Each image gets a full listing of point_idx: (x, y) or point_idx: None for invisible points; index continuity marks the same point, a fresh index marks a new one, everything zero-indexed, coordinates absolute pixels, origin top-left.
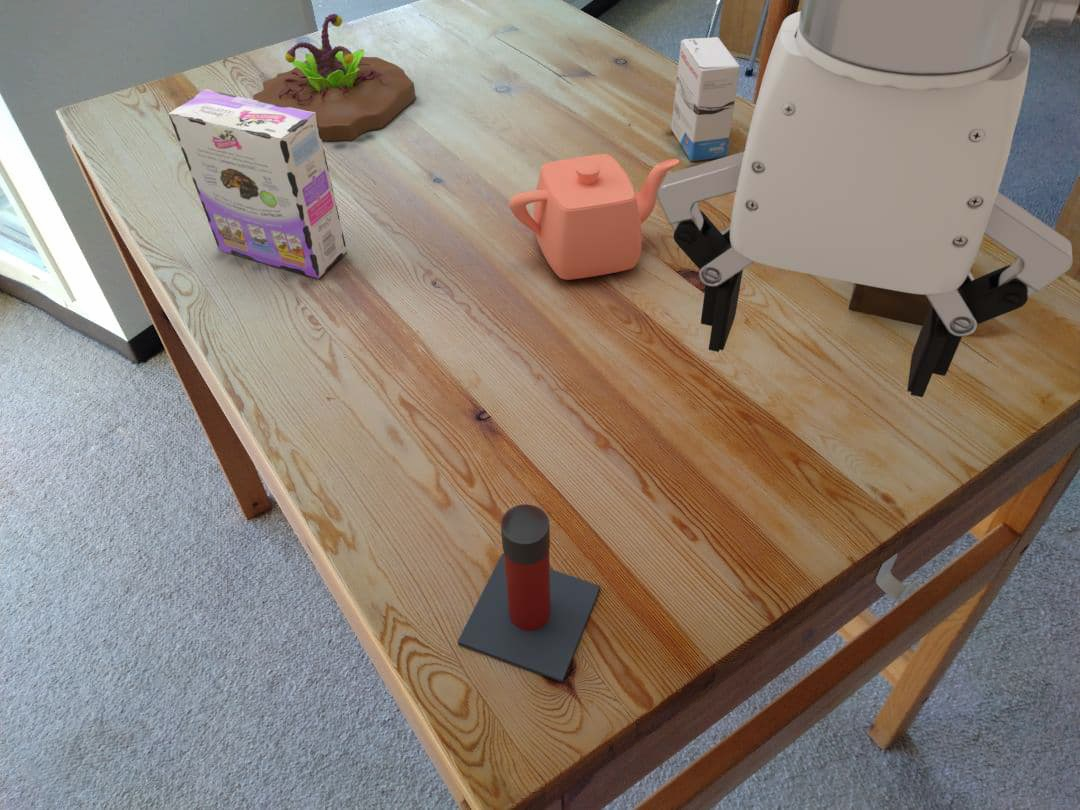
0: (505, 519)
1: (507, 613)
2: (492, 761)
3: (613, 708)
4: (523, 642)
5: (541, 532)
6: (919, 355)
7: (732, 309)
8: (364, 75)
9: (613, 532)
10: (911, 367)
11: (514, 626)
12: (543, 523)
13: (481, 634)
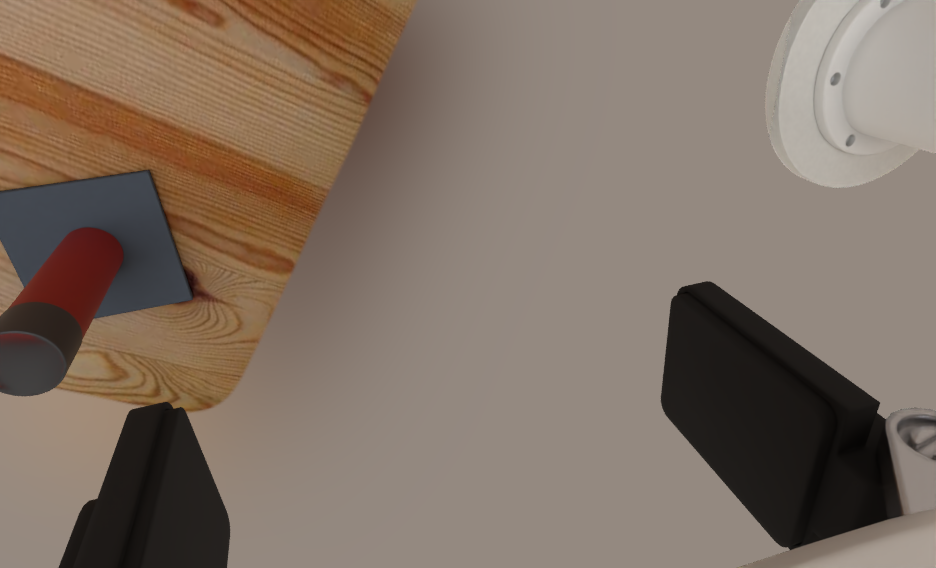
0: None
1: None
2: (185, 390)
3: (259, 289)
4: (118, 288)
5: (57, 363)
6: (720, 448)
7: (198, 565)
8: None
9: (99, 70)
10: (675, 360)
11: None
12: (46, 349)
13: None
